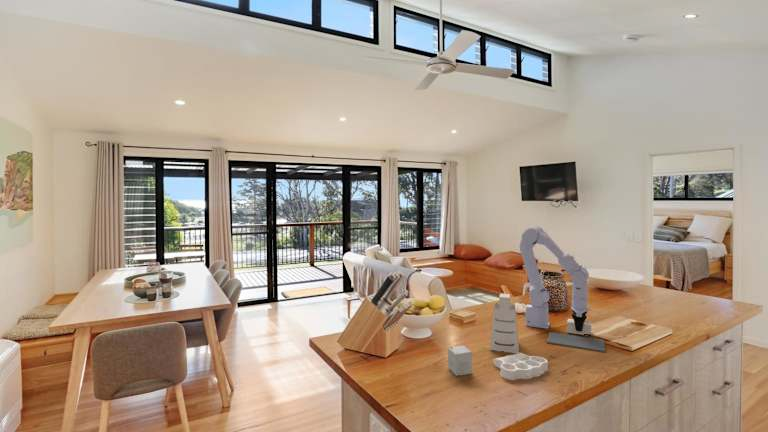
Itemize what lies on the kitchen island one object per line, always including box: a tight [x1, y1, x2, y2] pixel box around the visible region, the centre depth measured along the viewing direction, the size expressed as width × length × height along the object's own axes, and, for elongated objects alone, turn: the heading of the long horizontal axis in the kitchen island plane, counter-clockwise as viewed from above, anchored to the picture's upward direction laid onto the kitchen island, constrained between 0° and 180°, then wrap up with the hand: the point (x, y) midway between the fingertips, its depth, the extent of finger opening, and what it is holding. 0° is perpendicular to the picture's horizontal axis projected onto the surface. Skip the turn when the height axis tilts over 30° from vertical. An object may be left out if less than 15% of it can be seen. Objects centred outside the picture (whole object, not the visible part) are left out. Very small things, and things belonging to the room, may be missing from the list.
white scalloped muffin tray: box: [492, 352, 549, 381], centre depth 128 cm, size 3×18×15 cm
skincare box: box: [447, 345, 473, 377], centre depth 128 cm, size 6×6×7 cm
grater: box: [489, 293, 520, 354], centre depth 148 cm, size 10×10×20 cm
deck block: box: [566, 318, 592, 336], centre depth 162 cm, size 9×5×4 cm, turn 61°
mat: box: [546, 331, 606, 353], centre depth 152 cm, size 20×12×1 cm, turn 61°
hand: (579, 328), depth 162 cm, fingers closed on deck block, 5 cm apart
